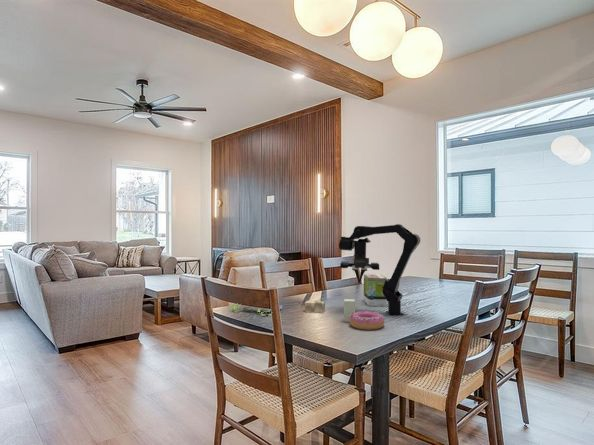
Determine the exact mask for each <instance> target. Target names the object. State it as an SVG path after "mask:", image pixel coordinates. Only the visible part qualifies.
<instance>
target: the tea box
mask: <svg viewBox="0 0 594 445" xmlns="http://www.w3.org/2000/svg"><path fill="white" fill-rule="evenodd" d="M387 279H388V278H387V277H386V276H385V275H383V274H375V273H374V274H369V273H368V274H363V301H364V303H366V305H367V306H368V307H387V306H388V302H387V299H386V297H385V296H384V295H383V293H382V290H383V288H382V287H383V286H384V283H385V280H387Z"/></svg>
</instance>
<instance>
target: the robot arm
mask: <svg viewBox="0 0 594 445" xmlns="http://www.w3.org/2000/svg"><path fill="white" fill-rule="evenodd" d="M394 233H396V234H397V235H398V236H399V237H400V239H401V238H402V240H404V242H403V248H402V252H401V255H400V257H399V260H398V261H397V263H396V266H395V268H394V270H393V273H392V274H391V278H387V280H385V283H384V286H383V287H382V288H383V290H382V293H383V295H384V296H385V297H386V299H387V308H388V309H387V310H386V311H385V312H386V314H388V315H390V316H402V315H403V316H404V312H402V307H401V306H402V305H401V304H402V302H401V300H402V298H403V294H402V293H401V292H400V291H399V287H400V282H401V278H402V276H403V274H404V272H405V269H406V267H407V266H408V263H409V261H410V258H411V256H412V254H413V253H414V252H415V250H416V249H417V248H418V246H419V245H420V244H421V237H420V235H419V234H416V233H413V232H412V231H411V230H409V229H407V228H406V227H405V226H404V225H403V224H400V223H397V224H391V225H381V226H378V225H377V226H366V225H357V226H355V227H354V229H353V232H352V233H351V235H350V236H349V237H348V236H340V240H339V243H338V248H339V250H340V251H351V252H352V251H353V249H354V252H353V262H352V263H351V262H350V261H345V260H342V261H341V262H340V266H339V267H340V269H348V268H351V270H352V271H354V273H355V276H356V278H357V282H358V284H361V282H362V279H363V277H364V273H366V272H367V271H368V269H369V268H370V269H372V270H374V271H375V270H376V271H379V270H380V264H379V262H370V258H369V257H367V243H371V240H370V239H369V237H370V236H373V235H380V234H382V235H383V234H394ZM359 269H360V272H359Z"/></svg>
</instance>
